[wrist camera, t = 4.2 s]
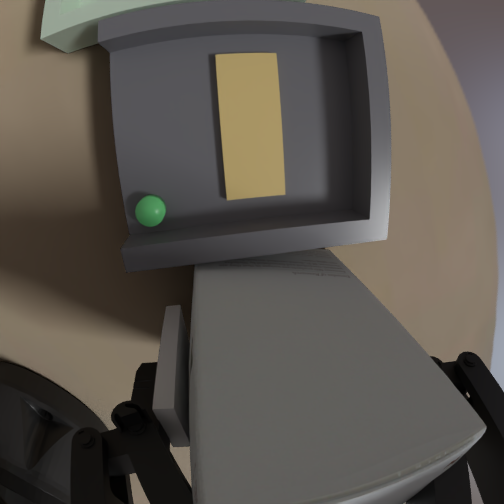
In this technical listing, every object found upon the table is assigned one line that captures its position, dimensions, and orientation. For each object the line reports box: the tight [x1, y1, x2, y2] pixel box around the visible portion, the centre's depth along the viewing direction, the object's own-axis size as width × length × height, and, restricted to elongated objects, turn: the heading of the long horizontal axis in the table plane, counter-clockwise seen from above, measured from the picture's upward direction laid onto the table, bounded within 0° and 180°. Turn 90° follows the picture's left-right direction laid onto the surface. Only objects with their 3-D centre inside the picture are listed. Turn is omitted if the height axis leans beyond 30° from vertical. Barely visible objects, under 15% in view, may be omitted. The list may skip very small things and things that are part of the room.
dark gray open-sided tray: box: [98, 0, 391, 273], centre depth 11 cm, size 11×10×4 cm
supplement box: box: [189, 249, 486, 504], centre depth 11 cm, size 7×7×13 cm
